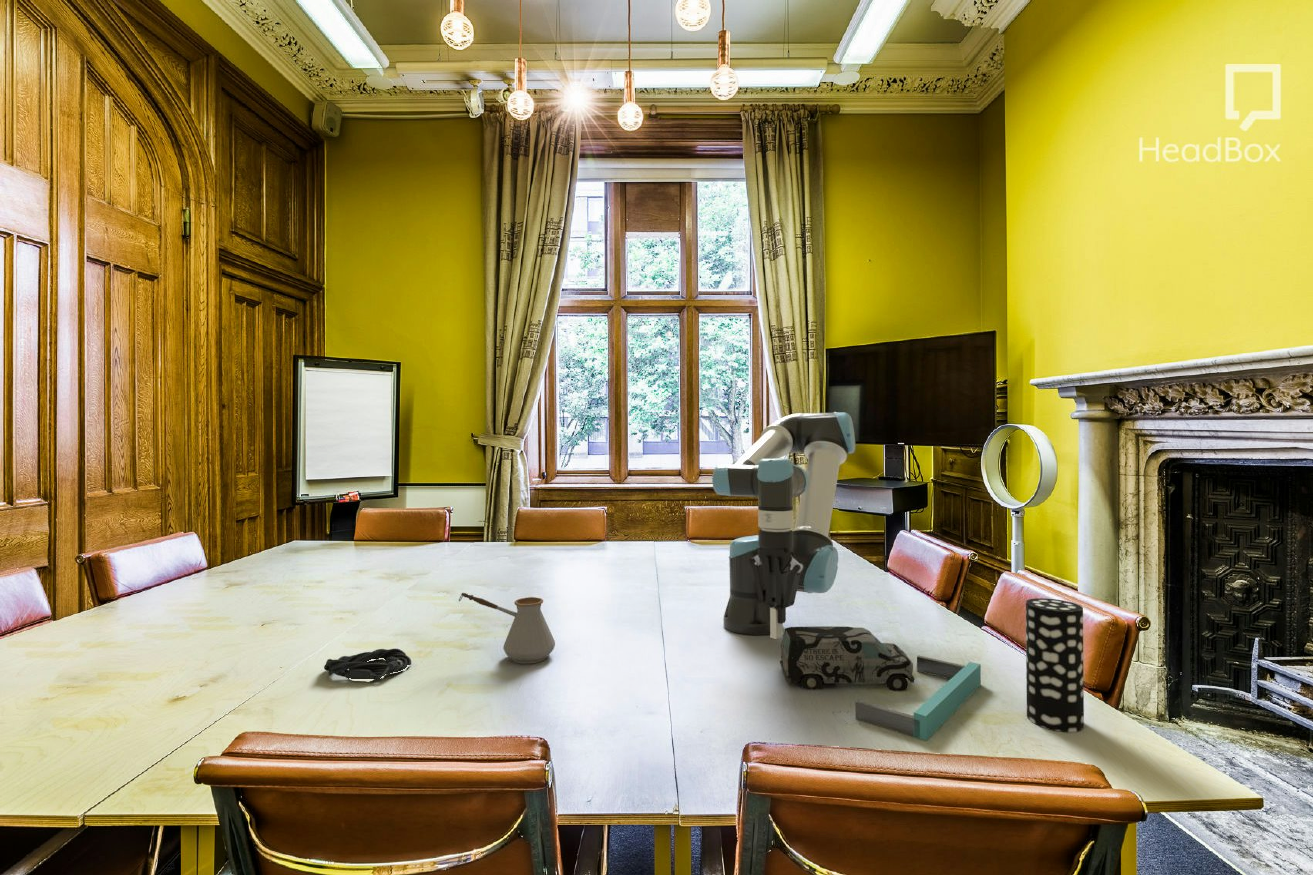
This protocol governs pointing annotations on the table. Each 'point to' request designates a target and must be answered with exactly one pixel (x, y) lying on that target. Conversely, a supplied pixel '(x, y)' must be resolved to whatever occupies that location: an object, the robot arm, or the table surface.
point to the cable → (368, 664)
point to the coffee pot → (524, 630)
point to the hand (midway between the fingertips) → (776, 636)
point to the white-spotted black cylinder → (1055, 664)
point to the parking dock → (935, 707)
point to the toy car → (842, 658)
